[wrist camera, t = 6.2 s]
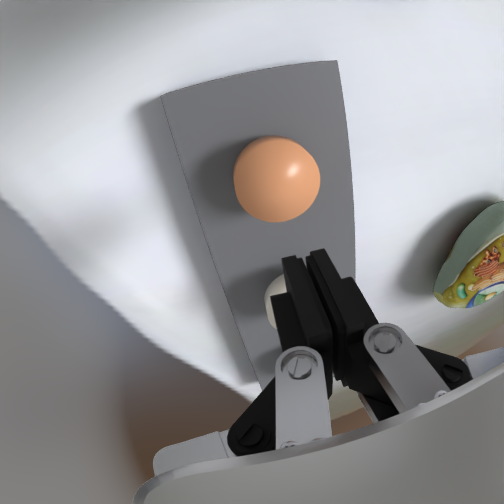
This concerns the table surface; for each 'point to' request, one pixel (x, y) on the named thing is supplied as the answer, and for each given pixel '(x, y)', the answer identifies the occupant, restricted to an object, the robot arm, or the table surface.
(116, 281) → the table surface
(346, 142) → the button panel
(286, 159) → the button terracotta
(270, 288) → the button ivory
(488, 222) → the cell model
